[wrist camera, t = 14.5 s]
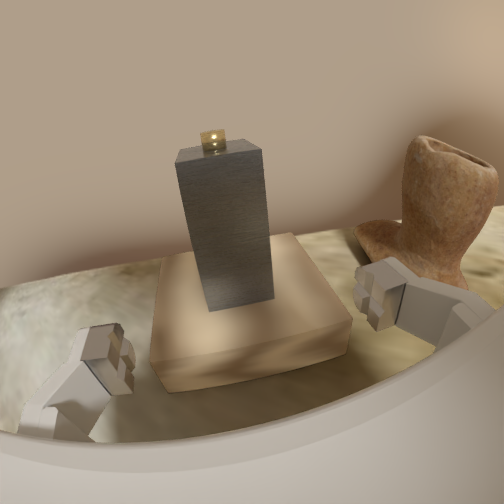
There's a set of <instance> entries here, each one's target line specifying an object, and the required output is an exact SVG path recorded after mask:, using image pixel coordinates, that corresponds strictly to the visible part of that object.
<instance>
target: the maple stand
mask: <svg viewBox="0 0 504 504" xmlns="http://www.w3.org/2000/svg"><path fill="white" fill-rule="evenodd" d="M270 246H271V258H272V270H273V283H274V296H275V299H272V300H268V301H263V302H258V303H254V304H249V305H244V306H239V307H234V308H229V309H224V310H219V311H214V312H209V310H208V306H207V303H206V299H205V295H204V291H203V287H202V284H201V280H200V276H199V272H198V268H197V264H196V260H195V256H194V251H190V252H184V253H180V254H174V255H169V256H164V257H162V261H161V267H160V274H159V280H158V287H157V294H156V302H155V310H154V318H153V327H152V337H151V348H150V360H149V362H150V364H151V366H152V368H153V369H154V371H155V373H156V374H157V376H158V377H159V379H160V381H161V382H162V384H163V385H164V387H165V389H166V390H167V392H168V393H174V392H183V391H190V390H197V389H204V388H210V387H216V386H222V385H227V384H233V383H238V382H243V381H248V380H253V379H257V378H262V377H266V376H270V375H275V374H279V373H283V372H287V371H290V370H294V369H298V368H302V367H305V366H309V365H312V364H316V363H319V362H322V361H326V360H329V359H332V358H335V357H338V356H341V355H344V354H346V351H347V346H348V342H349V337H350V332H351V326H352V321H353V318H352V316H351V315H350V313H349V312H348V310H347V309H346V308H345V306H344V305H343V303H342V302H341V300H340V299H339V297H338V296H337V295H336V293H335V292H334V290H333V289H332V288H331V286H330V285H329V283H328V282H327V281H326V279H325V278H324V276H323V275H322V274H321V272H320V271H319V269H318V268H317V267H316V265H315V264H314V262H313V261H312V260H311V258H310V257H309V256H308V254H307V253H306V252H305V250H304V249H303V247H302V246H301V245H300V243H299V242H298V241H297V239H296V238H295V237H294V235H293V234H292V233H291V232H290V233H285V234H279V235H274V236H270Z"/></svg>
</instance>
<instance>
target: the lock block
mask: <svg viewBox="0 0 504 504" xmlns="http://www.w3.org/2000/svg"><path fill="white" fill-rule="evenodd" d="M200 135H201V142H202V146H196V147H191V148H186V149H181V150H180V151H179V154H178V156H177V159H176V161H175V167H176V172H177V177H178V183H179V188H180V193H181V197H182V202H183V207H184V212H185V216H186V220H187V225H188V230H189V234H190V239H191V243H192V247H193V251H194V256H195V260H196V264H197V268H198V272H199V276H200V280H201V284H202V287H203V291H204V295H205V299H206V303H207V306H208V310H209V312H214V311H219V310H224V309H229V308H234V307H239V306H244V305H249V304H254V303H258V302H263V301H268V300H272V299H275V296H274V283H273V270H272V258H271V246H270V234H269V223H268V212H267V201H266V190H265V180H264V169H263V159H262V149H260V148H259V147H257V146H255V145H254V144H252V143H250V142H249V141H247V140H245V139H240V140H233V141H226V139H225V132H224V130H223V129H221V130H213V131H207V132H203V133H201V134H200Z"/></svg>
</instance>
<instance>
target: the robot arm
mask: <svg viewBox="0 0 504 504" xmlns="http://www.w3.org/2000/svg"><path fill="white" fill-rule="evenodd" d="M355 279H356V280H357V281H358V282H357V284H356V285H355V287H354V289H353V298H354V302H355V305H356V307H357V309H358V310H359V311H360V312H361V313H363V314H366V315H367V321H368V322H369V324H370V325H371V326H372V327H373V329H374V330H375V331H376V332H378V331H381V330H383V329H386V328H388V327H391V326H394V325H396V326H397V327H399V328H401V329H403V330H405V331H407V332H409V333H411V334H413V335H415V336H417V337H419V338H421V339H423V340H425V341H427V342H428V343H430V344H432V345H434V346H436V348H435V350H434V352H433V354H432V355H430V356H428V357H427V358H425V359H423V360H421V361H420V362H418V363H416V364H414V365H412V366H410V367H409V368H407V369H405V370H403V371H401V372H399V373H397V374H395V375H393V376H391V377H389V378H387V379H385V380H383V381H381V382H378V383H376V384H374V385H372V386H370V387H367V388H365V389H363V390H360V391H358V392H356V393H353V394H351V395H348V396H346V397H343V398H341V399H338V400H336V401H333V402H330V403H328V404H325V405H322V406H319V407H316V408H314V409H311V410H308V411H305V412H301V413H298V414H295V415H292V416H288V417H285V418H282V419H278V420H274V421H271V422H267V423H263V424H259V425H255V426H251V427H246V428H242V429H237V430H232V431H227V432H222V433H217V434H211V435H205V436H198V437H191V438H183V439H174V440H164V441H151V442H129V443H98V442H95V441H94V440H92V439H91V438H90V437H89V436H88V435H89V433H90V432H91V430H92V428H93V427H94V425H95V423H96V422H97V420H98V418H99V417H100V415H101V413H102V412H103V410H104V408H105V407H106V405H107V404H108V402H109V400H110V399H111V396H113V395H122V394H131V393H133V387H134V376H133V375H132V373H131V372H132V371H133V369H134V368H135V363H136V359H135V353H134V350H133V347H132V345H131V343H130V341H129V340H127V339H125V338H124V337H123V335H124V330H123V329H122V327H121V325H120V324H118V323H112V324H105V325H98V326H92V327H85V328H80V329H79V330H78V331H77V334H76V337H75V340H74V342H73V345H72V348H71V351H70V354H69V358H68V361H67V362H66V363H63V364H62V365H61V366H60V367H59V368H58V369H57V370H56V371H55V372H54V373H53V374H52V375H51V376H50V377H49V378H48V379H47V381H46V382H45V383H44V384H43V385H42V386H41V387H40V388H39V389H38V390H37V391H36V392H35V393H34V394H33V396H32V397H31V398H30V399H29V400H28V401H27V402H26V403H25V405H24V408H23V412H22V416H21V419H20V423H19V427H18V432H17V433H12V432H7V431H3V430H0V504H504V304H503V305H502V306H501V307H500V308H499V309H497V310H495V309H494V308H492V307H491V306H490V305H489V304H488V303H487V302H486V301H485V300H483V299H482V298H481V297H480V296H479V295H478V294H476V293H475V292H472V291H468V290H465V289H462V288H458V287H455V286H452V285H448V284H445V283H442V282H438V281H435V280H431V279H428V278H424V277H421V278H419V277H418V276H417V275H416V274H414V273H413V272H412V271H411V270H410V269H408V268H407V267H406V266H405V265H403V264H402V263H401V262H400V261H399V260H397V259H396V258H395V257H388V258H385V259H382V260H380V261H377V262H374V263H371V264H367V265H364V266H360V267H357V269H356V271H355Z"/></svg>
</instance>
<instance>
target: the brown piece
mask: <svg viewBox="0 0 504 504" xmlns="http://www.w3.org/2000/svg"><path fill="white" fill-rule="evenodd" d="M498 184H499V178H498V174H497V172H496V170H495V169H494V168H493V167H492V166H491V165H490V164H488V163H487V162H485V161H483V160H481V159H479V158H477V157H475V156H473V155H471V154H469V153H466V152H464V151H462V150H460V149H457V148H454V147H452V146H450V145H448V144H446V143H444V142H441V141H439V140H436V139H432V138H430V137H427V136H422V135H421V136H418V137H416V138H415V139H414V140H413V141H412V142H411V143H410V145H409V147H408V150H407V154H406V159H405V166H404V173H403V180H402V223H398V222H396V221H390V220H375V221H370V222H367V223H363V224H361V225H359V226H358V227H356V228H355V230H354V235H355V237H356V238H357V240H358V242H359V244H360V245H361V247H362V248H363V250H364V251H365V253H366V254H367V256H368V257H369V258H370V260H371V261H372V263H374V262H377V261H380V260H382V259H385V258H388V257H395V258H396V259H397V260H399V261H400V262H401V263H402V264H403V265H405V266H406V267H407V268H408V269H410V270H411V271H412V272H413V273H414V274H416V275H417V276H418V277H419V278H421V277H424V278H428V279H431V280H435V281H438V282H442V283H445V284H448V285H452V286H455V287H458V288H462V289H465V290H468V285H467V283H466V281H465V279H464V277H463V275H462V273H461V271H460V262H461V259H462V257H463V255H464V254H465V252H466V250H467V249H468V248H469V246H470V245H471V243H472V242H473V241H474V239H475V238H476V237H477V235H478V234H479V233H480V231H481V229H482V228H483V226H484V224H485V223H486V220H487V218H488V216H489V214H490V212H491V210H492V208H493V206H494V203H495V200H496V197H497V194H498Z"/></svg>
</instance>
